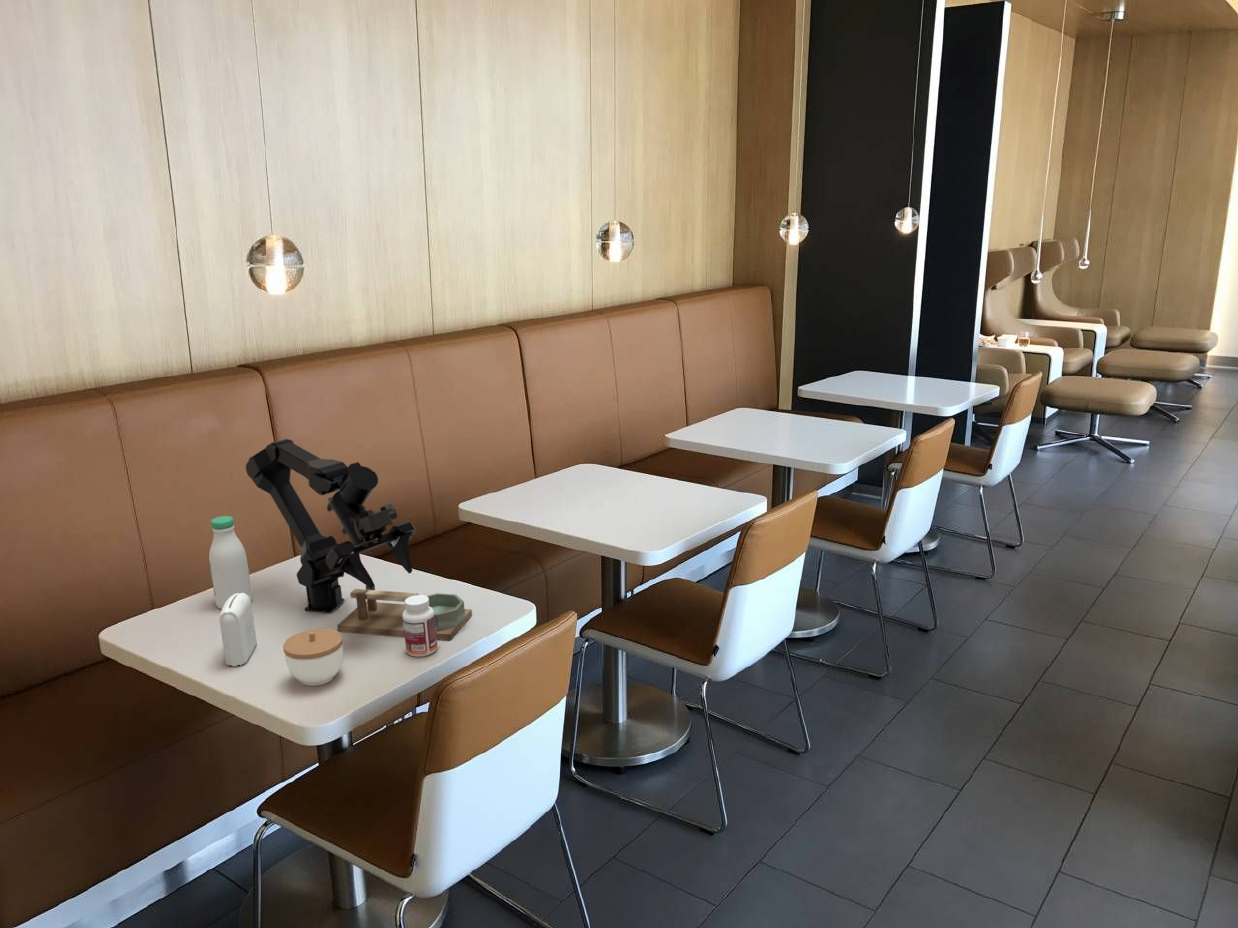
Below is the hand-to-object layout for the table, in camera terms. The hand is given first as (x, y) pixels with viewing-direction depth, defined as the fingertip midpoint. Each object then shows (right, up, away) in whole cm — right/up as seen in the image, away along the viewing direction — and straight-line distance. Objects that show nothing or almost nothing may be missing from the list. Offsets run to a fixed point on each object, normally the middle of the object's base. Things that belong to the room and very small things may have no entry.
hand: (392, 579), depth 205 cm
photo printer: (-30, -15, 0) cm, 33 cm away
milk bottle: (-40, -8, +24) cm, 47 cm away
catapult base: (0, -10, +11) cm, 15 cm away
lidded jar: (-12, -18, -10) cm, 24 cm away
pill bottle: (+6, -14, -1) cm, 15 cm away
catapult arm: (+1, -9, +11) cm, 14 cm away
